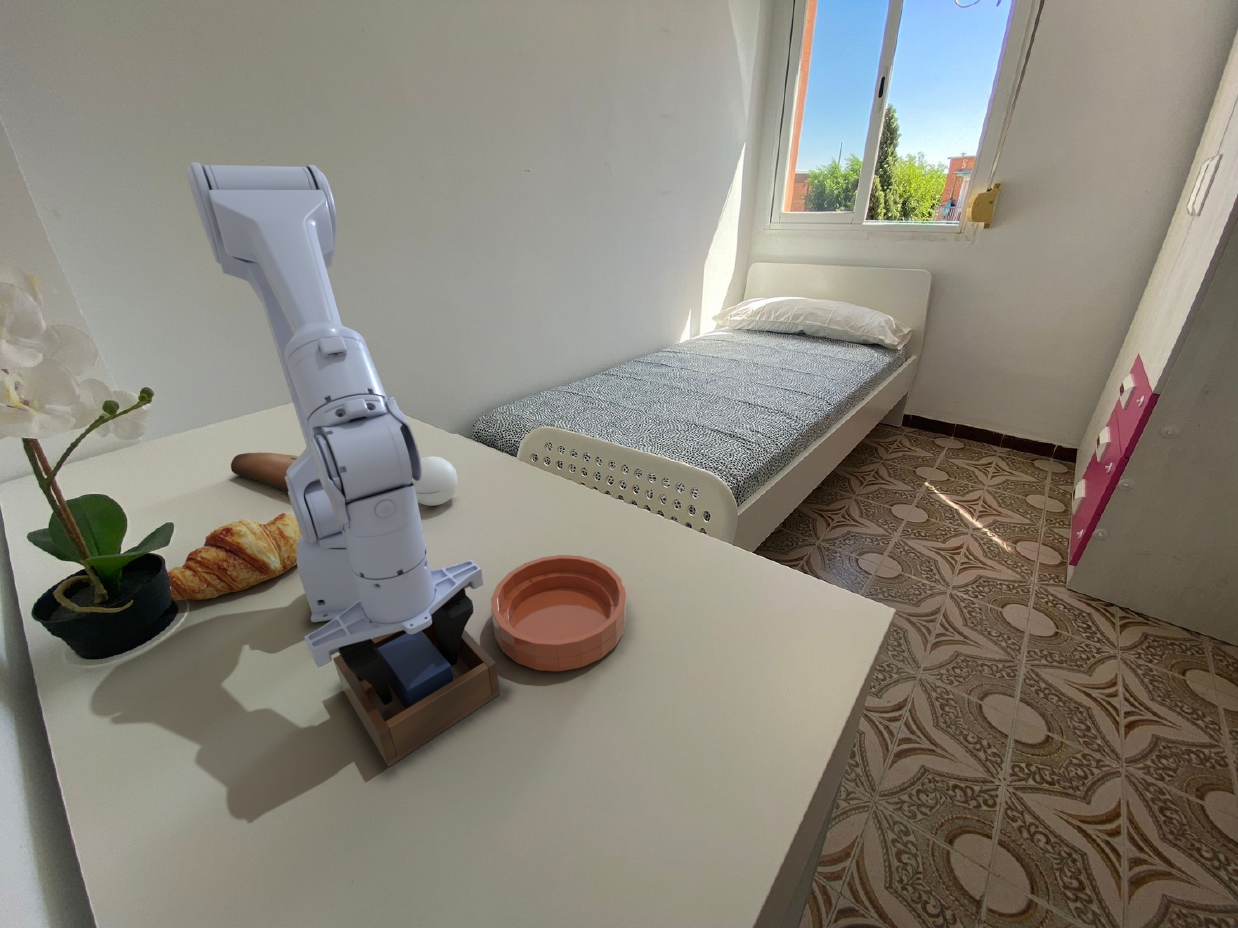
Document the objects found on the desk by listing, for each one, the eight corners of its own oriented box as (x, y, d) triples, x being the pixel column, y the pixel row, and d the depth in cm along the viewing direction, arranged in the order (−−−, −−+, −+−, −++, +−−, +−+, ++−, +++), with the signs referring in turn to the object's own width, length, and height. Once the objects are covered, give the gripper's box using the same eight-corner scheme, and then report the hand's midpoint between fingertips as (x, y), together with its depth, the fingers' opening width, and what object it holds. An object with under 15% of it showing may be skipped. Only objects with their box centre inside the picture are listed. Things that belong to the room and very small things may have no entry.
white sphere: (441, 485, 87) (434, 443, 84) (471, 500, 83) (465, 457, 79) (383, 511, 80) (373, 466, 77) (412, 529, 76) (403, 482, 72)
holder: (388, 767, 45) (378, 733, 43) (343, 689, 52) (332, 658, 50) (500, 694, 51) (496, 662, 49) (446, 633, 58) (440, 603, 56)
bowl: (497, 686, 52) (493, 655, 50) (493, 591, 64) (490, 564, 62) (639, 660, 55) (640, 630, 53) (610, 574, 67) (610, 547, 65)
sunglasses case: (351, 477, 88) (323, 453, 83) (323, 513, 85) (292, 491, 80) (281, 454, 96) (251, 431, 90) (253, 487, 92) (221, 465, 87)
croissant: (339, 544, 78) (316, 492, 77) (365, 538, 71) (339, 482, 70) (159, 623, 63) (127, 561, 62) (168, 626, 56) (133, 556, 55)
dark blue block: (415, 722, 48) (407, 690, 46) (385, 679, 52) (376, 648, 50) (457, 696, 50) (451, 665, 48) (425, 657, 54) (418, 626, 53)
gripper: (309, 627, 37) (353, 756, 43) (494, 542, 46) (508, 659, 52) (280, 578, 42) (323, 701, 48) (453, 510, 51) (471, 621, 57)
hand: (417, 676), depth 50 cm, fingers open, 6 cm apart
